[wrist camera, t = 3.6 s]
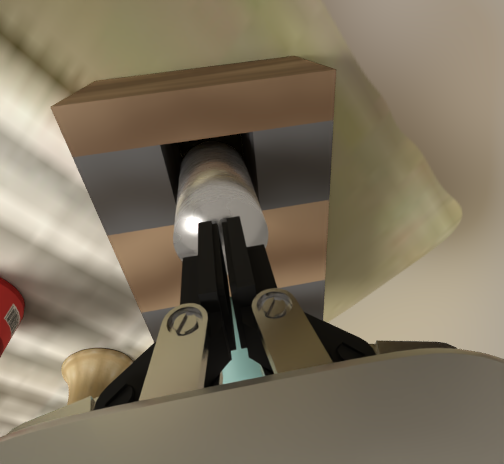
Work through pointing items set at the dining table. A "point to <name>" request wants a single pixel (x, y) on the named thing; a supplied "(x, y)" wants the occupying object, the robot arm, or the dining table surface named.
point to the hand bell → (92, 371)
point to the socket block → (169, 161)
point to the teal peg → (240, 361)
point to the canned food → (9, 312)
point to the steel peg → (215, 197)
